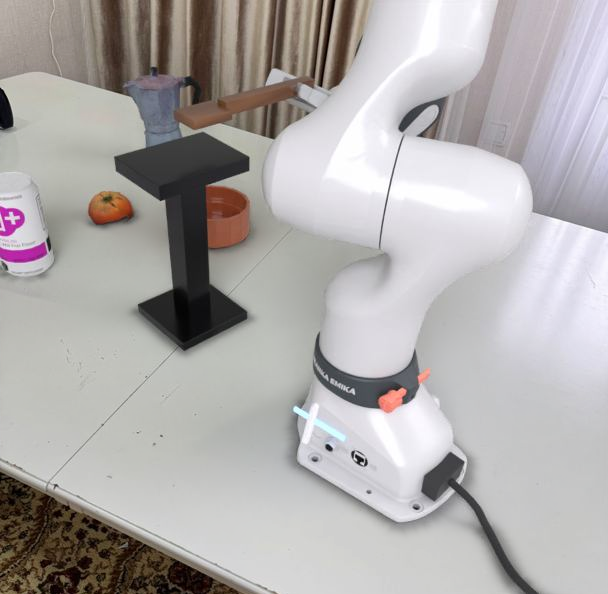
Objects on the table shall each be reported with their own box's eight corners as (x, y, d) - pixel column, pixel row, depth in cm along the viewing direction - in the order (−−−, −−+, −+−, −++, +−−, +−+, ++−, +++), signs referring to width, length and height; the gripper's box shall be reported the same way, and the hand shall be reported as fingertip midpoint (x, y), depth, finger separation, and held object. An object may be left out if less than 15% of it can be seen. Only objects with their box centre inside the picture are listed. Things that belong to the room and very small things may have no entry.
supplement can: (39, 282, 100) (17, 198, 91) (-8, 274, 101) (-35, 189, 91) (64, 256, 107) (46, 174, 97) (19, 248, 107) (-3, 166, 98)
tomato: (74, 213, 114) (91, 177, 114) (94, 222, 121) (110, 188, 121) (109, 231, 113) (127, 195, 112) (127, 239, 120) (144, 205, 119)
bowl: (263, 234, 116) (264, 205, 112) (207, 258, 109) (205, 228, 105) (220, 207, 123) (219, 178, 119) (163, 227, 116) (161, 198, 112)
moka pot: (130, 155, 138) (118, 60, 124) (199, 150, 142) (195, 58, 128) (135, 174, 131) (123, 76, 118) (207, 169, 135) (204, 73, 122)
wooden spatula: (320, 94, 88) (321, 81, 87) (194, 130, 76) (193, 116, 75) (298, 85, 91) (299, 73, 89) (173, 119, 78) (172, 104, 77)
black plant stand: (252, 316, 98) (254, 159, 81) (178, 354, 90) (163, 189, 73) (205, 281, 104) (198, 128, 87) (132, 314, 96) (109, 153, 79)
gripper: (306, 77, 102) (251, 43, 91) (403, 117, 92) (353, 84, 80) (291, 114, 104) (235, 85, 93) (383, 158, 94) (332, 131, 82)
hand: (291, 85), depth 87 cm, fingers closed on wooden spatula, 2 cm apart
